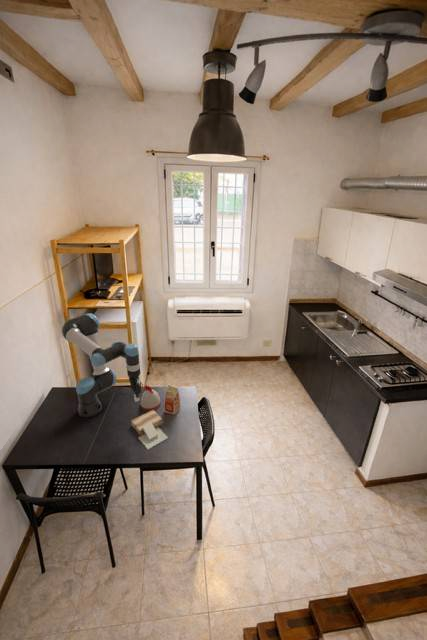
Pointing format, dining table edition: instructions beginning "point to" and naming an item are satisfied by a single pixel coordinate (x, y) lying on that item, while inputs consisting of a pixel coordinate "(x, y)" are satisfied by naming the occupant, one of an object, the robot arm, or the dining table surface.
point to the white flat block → (150, 431)
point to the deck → (146, 421)
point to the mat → (153, 441)
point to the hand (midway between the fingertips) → (137, 400)
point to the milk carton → (172, 400)
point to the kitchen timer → (150, 399)
